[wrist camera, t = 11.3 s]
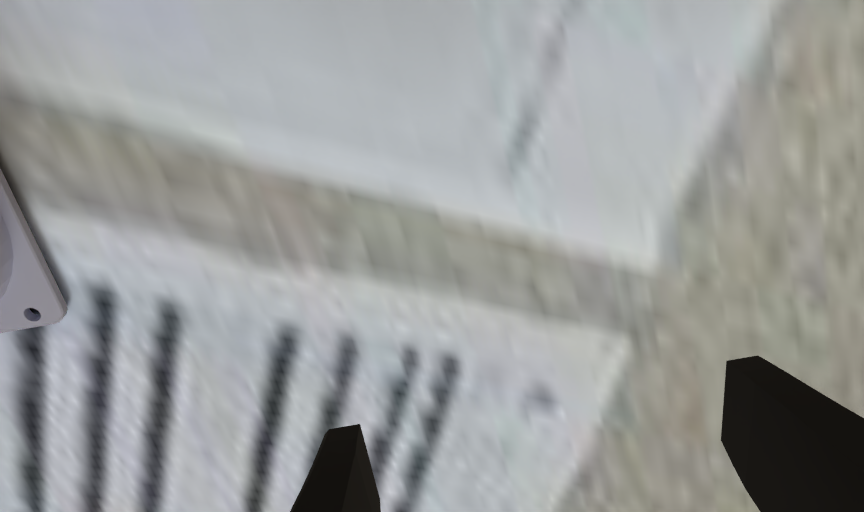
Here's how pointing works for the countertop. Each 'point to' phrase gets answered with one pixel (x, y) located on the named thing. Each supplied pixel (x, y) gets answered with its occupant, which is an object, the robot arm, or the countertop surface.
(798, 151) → the countertop surface
